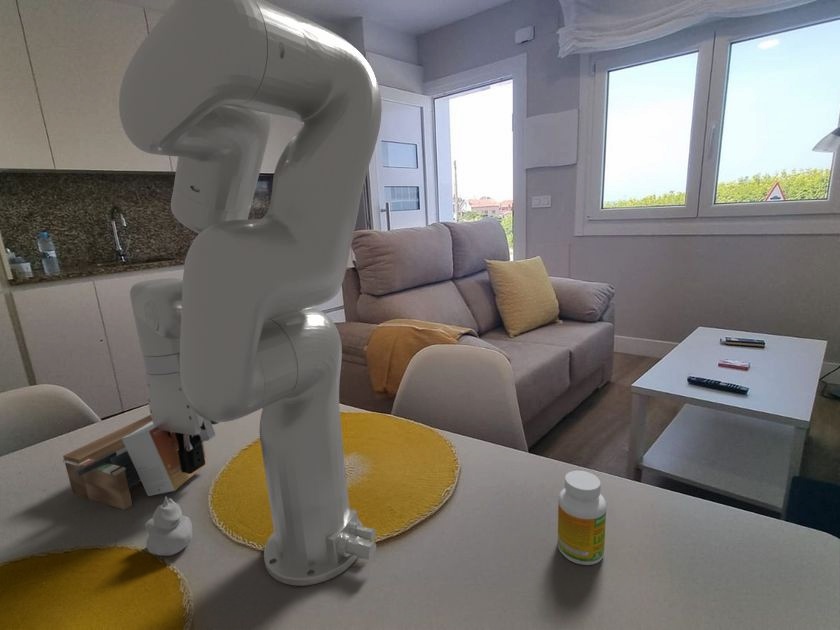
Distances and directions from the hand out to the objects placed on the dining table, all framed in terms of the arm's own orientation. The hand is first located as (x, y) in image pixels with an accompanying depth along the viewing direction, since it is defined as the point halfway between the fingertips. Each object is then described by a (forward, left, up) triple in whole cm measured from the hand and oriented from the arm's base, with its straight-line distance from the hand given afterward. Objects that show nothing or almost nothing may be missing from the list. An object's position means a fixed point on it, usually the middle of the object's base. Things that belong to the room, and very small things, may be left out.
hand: (193, 468), depth 70 cm
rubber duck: (-8, +11, -4) cm, 14 cm away
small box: (+4, 0, -3) cm, 5 cm away
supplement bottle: (-58, -5, -4) cm, 59 cm away
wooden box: (+13, 0, -4) cm, 13 cm away
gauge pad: (+11, +2, -3) cm, 12 cm away
